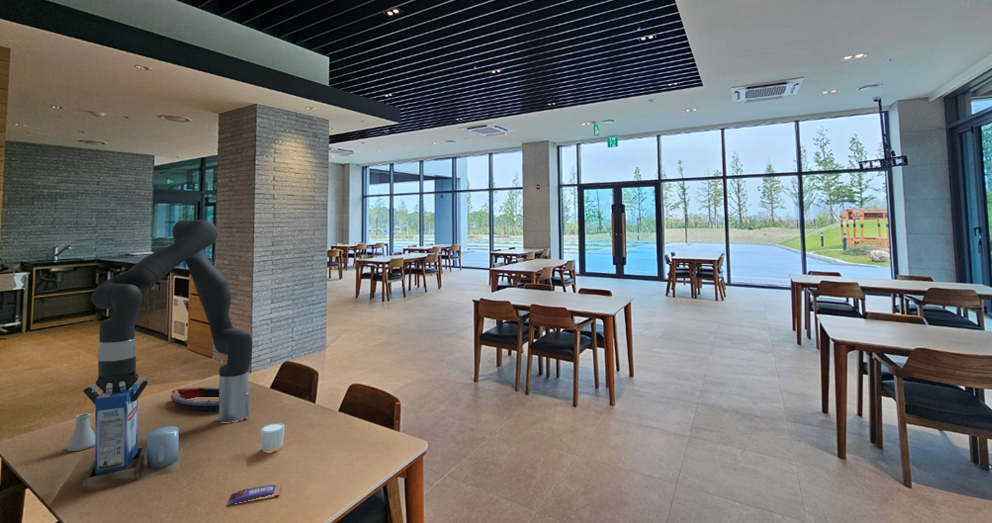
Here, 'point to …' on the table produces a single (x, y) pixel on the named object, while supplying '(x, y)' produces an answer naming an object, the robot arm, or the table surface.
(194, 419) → the table surface
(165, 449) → the pale blue rounded block
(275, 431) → the shot glass
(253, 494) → the snack package
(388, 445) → the table surface
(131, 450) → the milk carton
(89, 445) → the flask
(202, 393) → the dish
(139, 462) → the caddy
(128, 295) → the robot arm
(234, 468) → the table surface
